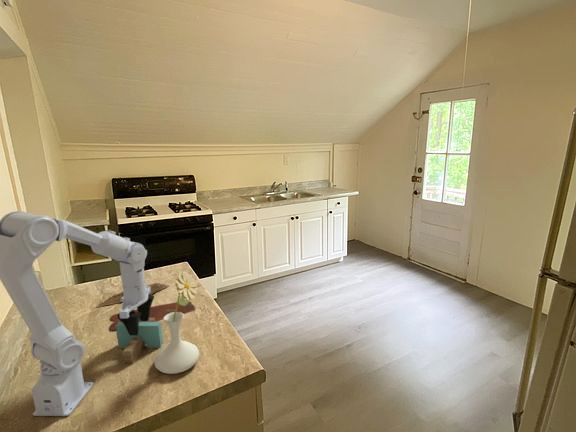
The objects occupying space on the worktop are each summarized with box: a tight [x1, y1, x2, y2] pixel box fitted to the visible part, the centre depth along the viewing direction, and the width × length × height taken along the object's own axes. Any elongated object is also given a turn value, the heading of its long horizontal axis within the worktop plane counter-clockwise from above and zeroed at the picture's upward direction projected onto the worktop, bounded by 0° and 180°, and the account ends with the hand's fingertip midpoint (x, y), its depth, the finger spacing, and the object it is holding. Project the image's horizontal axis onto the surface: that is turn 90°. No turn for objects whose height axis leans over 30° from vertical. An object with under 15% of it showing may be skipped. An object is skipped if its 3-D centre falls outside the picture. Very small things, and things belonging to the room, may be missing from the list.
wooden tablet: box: [108, 300, 196, 332], centre depth 110 cm, size 27×10×2 cm, turn 118°
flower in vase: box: [154, 271, 201, 375], centre depth 84 cm, size 13×11×25 cm
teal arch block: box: [116, 321, 164, 349], centre depth 93 cm, size 12×2×7 cm, turn 90°
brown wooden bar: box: [122, 318, 156, 365], centre depth 93 cm, size 16×2×4 cm, turn 0°
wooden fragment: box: [96, 282, 170, 308], centre depth 123 cm, size 26×11×1 cm, turn 127°
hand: (139, 327), depth 92 cm, fingers open, 6 cm apart
